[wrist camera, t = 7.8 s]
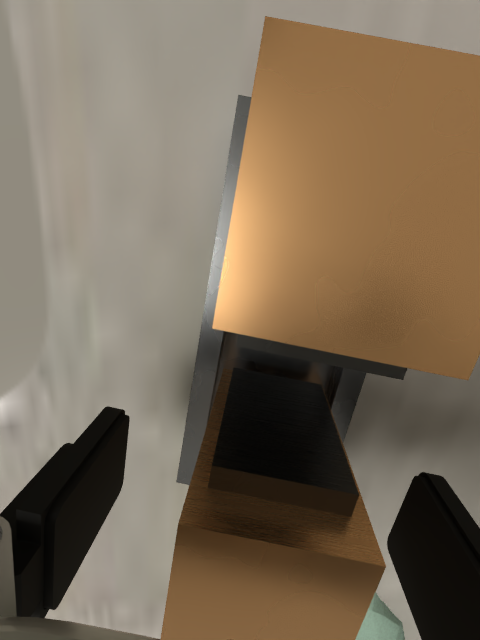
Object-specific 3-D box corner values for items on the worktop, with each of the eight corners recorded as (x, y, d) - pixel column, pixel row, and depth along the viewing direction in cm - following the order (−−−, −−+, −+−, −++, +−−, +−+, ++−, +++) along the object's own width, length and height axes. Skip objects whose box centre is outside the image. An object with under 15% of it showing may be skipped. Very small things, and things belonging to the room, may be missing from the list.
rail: (312, 476, 15) (360, 730, 8) (187, 450, 15) (109, 674, 8) (414, 149, 11) (740, -12, 4) (243, 116, 11) (195, -109, 4)
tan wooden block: (300, 469, 14) (331, 695, 7) (208, 451, 14) (157, 657, 7) (327, 374, 13) (395, 542, 6) (225, 354, 13) (182, 500, 6)
